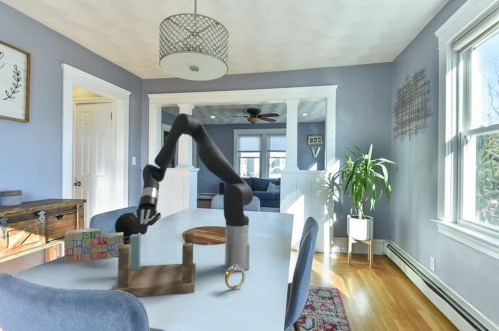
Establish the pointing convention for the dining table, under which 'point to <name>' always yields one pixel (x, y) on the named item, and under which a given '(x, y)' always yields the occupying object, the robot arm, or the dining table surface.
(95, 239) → the stack of blocks
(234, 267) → the bracelet
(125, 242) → the black ball on pedestal
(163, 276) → the wooden rack
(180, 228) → the dining table surface
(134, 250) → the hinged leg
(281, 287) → the dining table surface
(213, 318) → the dining table surface
